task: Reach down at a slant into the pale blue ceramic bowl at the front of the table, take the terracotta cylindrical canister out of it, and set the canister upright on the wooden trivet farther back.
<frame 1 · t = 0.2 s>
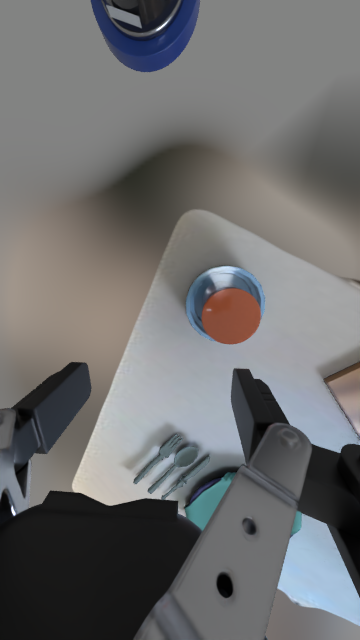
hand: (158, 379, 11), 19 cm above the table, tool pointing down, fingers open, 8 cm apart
terracotta cylindrical canister: (222, 301, 27), point 1 cm above the table, touching bowl
cutlery set: (219, 490, 38), on the table
bowl: (221, 300, 28), on the table
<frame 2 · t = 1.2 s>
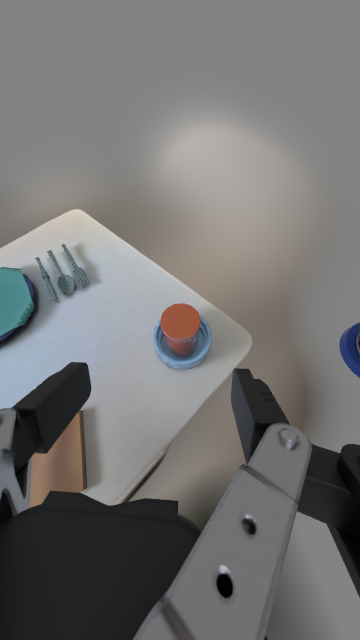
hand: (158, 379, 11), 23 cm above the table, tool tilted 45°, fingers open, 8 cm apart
trivet: (29, 464, 28), on the table
terracotta cylindrical canister: (182, 342, 35), point 1 cm above the table, touching bowl
cutlery set: (16, 300, 42), on the table
bowl: (182, 343, 36), on the table
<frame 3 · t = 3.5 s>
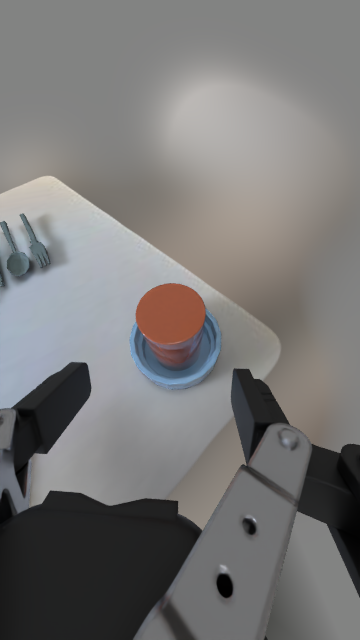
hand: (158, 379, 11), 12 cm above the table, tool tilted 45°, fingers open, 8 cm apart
terracotta cylindrical canister: (177, 347, 23), point 1 cm above the table, touching bowl
bowl: (177, 349, 24), on the table
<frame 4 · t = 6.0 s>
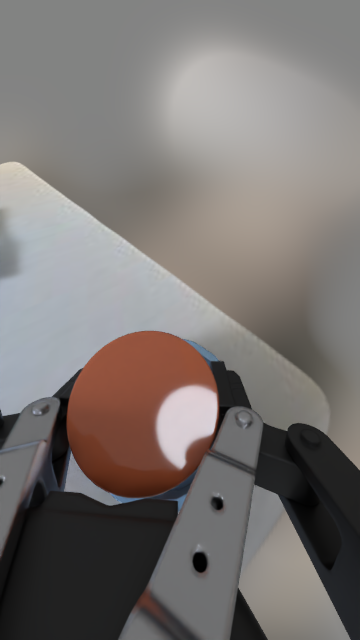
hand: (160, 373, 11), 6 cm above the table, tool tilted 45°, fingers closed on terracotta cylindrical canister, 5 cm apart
terracotta cylindrical canister: (167, 411, 15), point 1 cm above the table, touching bowl, gripper
bowl: (168, 411, 15), on the table
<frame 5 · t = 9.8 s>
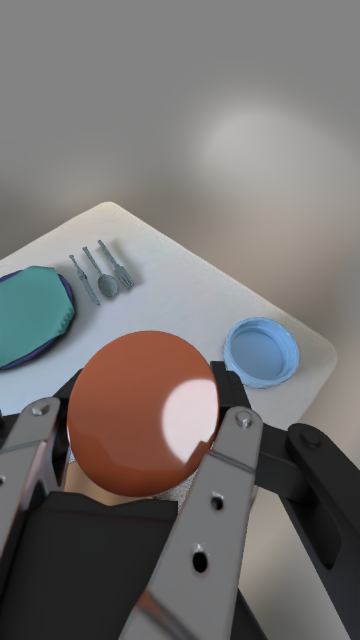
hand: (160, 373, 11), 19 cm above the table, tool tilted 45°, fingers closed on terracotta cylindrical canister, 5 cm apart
trivet: (85, 508, 23), on the table
terracotta cylindrical canister: (167, 411, 15), point 14 cm above the table, touching gripper
cutlery set: (51, 304, 37), on the table
bowl: (254, 356, 30), on the table
when the fingers open (6 cm above the table, at t = 14.0 s): terracotta cylindrical canister stays where it is, resting on trivet.
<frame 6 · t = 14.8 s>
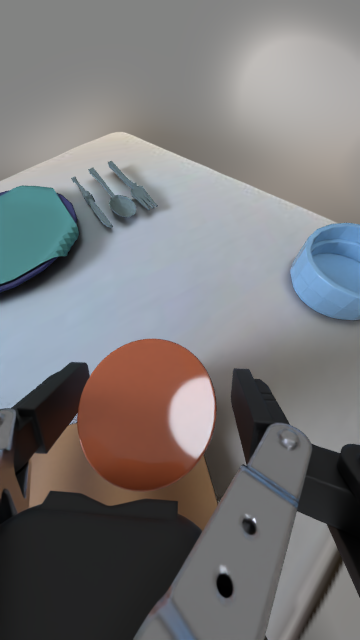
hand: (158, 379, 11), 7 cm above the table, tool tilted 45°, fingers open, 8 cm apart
trivet: (98, 494, 14), on the table
terracotta cylindrical canister: (167, 412, 15), point 1 cm above the table, touching trivet
cutlery set: (47, 231, 28), on the table
bowl: (333, 284, 21), on the table
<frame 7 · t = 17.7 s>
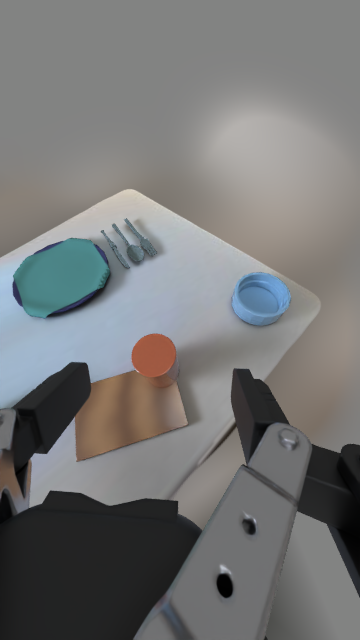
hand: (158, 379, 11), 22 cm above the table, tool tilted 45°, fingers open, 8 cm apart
trivet: (129, 406, 31), on the table
terracotta cylindrical canister: (162, 370, 32), point 1 cm above the table, touching trivet
cutlery set: (88, 268, 45), on the table
bowl: (255, 305, 38), on the table
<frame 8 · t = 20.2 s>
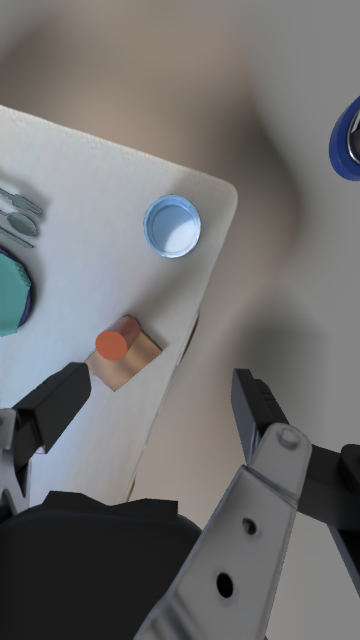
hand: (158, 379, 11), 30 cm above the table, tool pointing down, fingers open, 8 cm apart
trivet: (122, 355, 45), on the table
terracotta cylindrical canister: (127, 329, 42), point 1 cm above the table, touching trivet
bowl: (174, 230, 36), on the table
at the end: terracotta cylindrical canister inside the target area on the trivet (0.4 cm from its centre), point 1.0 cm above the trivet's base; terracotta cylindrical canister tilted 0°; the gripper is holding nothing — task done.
